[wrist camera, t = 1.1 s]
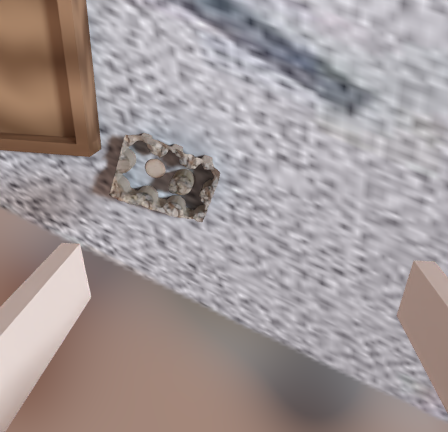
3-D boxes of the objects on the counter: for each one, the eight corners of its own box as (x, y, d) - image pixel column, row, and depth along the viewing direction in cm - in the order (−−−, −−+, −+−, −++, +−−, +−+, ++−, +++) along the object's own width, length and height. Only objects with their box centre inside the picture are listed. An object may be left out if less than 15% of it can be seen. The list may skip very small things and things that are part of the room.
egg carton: (117, 182, 39) (102, 196, 36) (135, 121, 36) (121, 129, 33) (203, 217, 41) (197, 234, 37) (228, 161, 37) (225, 173, 34)
